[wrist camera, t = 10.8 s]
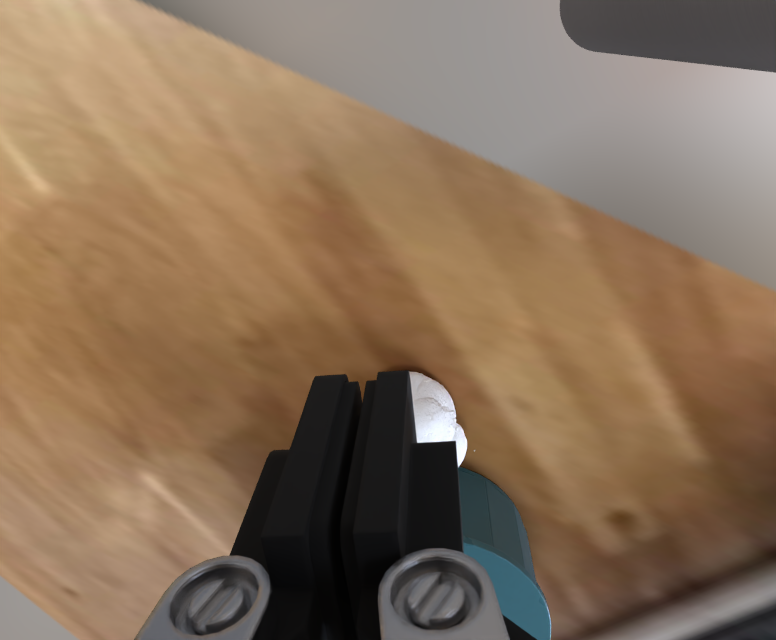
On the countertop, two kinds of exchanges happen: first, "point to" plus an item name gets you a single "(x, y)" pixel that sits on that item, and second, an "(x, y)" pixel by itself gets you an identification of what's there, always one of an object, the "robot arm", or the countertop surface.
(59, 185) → the countertop surface
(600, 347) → the countertop surface
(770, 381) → the countertop surface
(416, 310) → the countertop surface
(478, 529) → the pot
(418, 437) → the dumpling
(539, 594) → the pot lid
